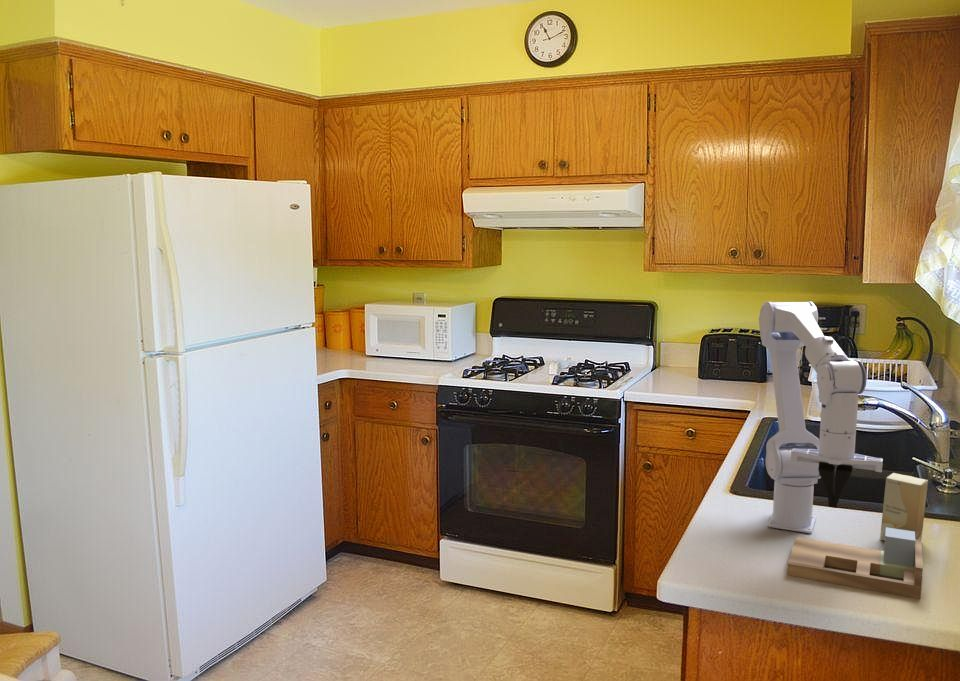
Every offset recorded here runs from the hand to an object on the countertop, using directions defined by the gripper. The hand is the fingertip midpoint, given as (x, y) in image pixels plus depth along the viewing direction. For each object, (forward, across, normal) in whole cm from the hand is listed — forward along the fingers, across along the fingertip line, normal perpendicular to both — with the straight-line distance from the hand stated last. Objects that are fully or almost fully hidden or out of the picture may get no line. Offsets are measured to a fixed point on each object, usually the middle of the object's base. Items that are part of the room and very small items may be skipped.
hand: (833, 505), depth 146 cm
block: (+8, +11, 0) cm, 13 cm away
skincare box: (+10, +11, +15) cm, 21 cm away
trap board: (+10, +4, -4) cm, 11 cm away
